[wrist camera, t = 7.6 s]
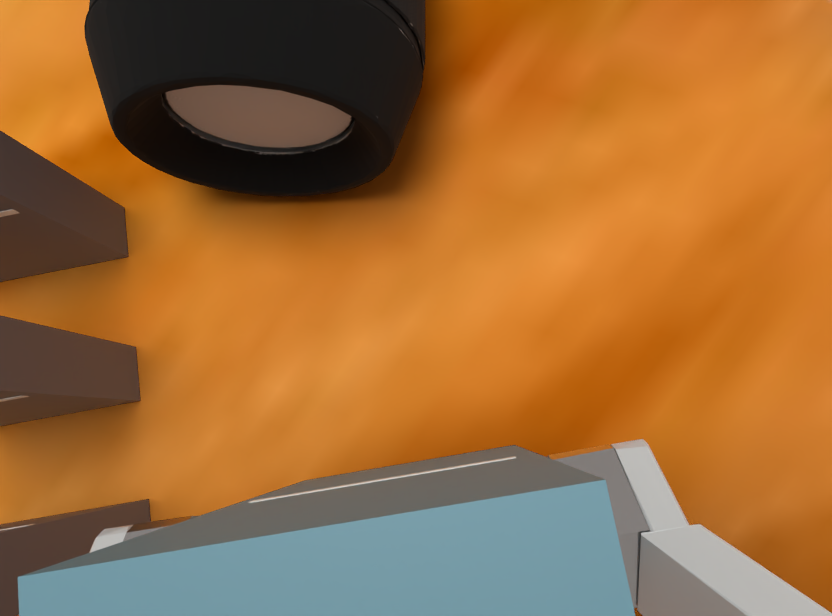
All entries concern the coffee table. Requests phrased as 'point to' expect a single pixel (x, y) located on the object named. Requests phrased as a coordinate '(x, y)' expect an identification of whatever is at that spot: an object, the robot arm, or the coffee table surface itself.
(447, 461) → the domino
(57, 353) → the domino
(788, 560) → the coffee table surface
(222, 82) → the portable speaker
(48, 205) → the domino
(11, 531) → the domino
